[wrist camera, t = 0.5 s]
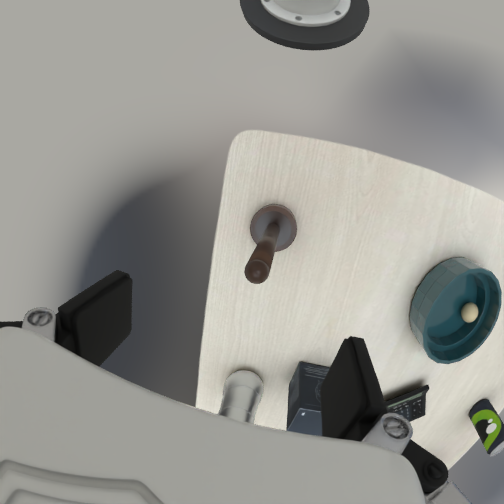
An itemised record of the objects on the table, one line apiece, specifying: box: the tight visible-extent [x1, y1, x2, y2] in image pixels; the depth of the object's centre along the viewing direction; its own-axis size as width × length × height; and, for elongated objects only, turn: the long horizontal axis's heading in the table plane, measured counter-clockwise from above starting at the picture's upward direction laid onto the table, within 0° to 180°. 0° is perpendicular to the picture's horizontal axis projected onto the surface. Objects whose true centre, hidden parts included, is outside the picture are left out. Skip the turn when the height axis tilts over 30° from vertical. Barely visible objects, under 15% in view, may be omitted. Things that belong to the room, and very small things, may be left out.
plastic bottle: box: [218, 370, 264, 424], centre depth 33 cm, size 6×7×20 cm
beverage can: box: [469, 399, 504, 457], centre depth 31 cm, size 6×6×15 cm
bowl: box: [410, 257, 501, 364], centre depth 31 cm, size 15×15×6 cm
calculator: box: [385, 385, 429, 422], centre depth 39 cm, size 9×12×3 cm
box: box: [287, 362, 330, 436], centre depth 35 cm, size 8×6×11 cm
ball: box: [461, 302, 478, 323], centre depth 32 cm, size 3×3×3 cm
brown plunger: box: [245, 204, 297, 284], centre depth 26 cm, size 6×6×19 cm
